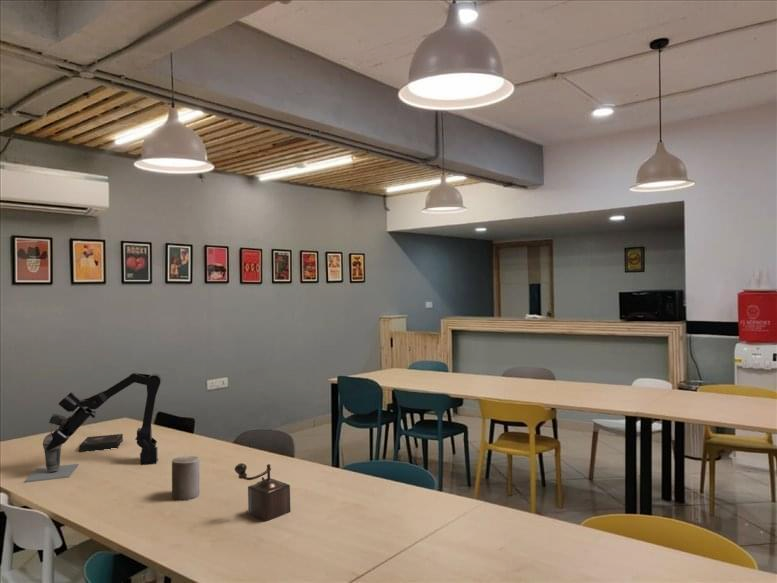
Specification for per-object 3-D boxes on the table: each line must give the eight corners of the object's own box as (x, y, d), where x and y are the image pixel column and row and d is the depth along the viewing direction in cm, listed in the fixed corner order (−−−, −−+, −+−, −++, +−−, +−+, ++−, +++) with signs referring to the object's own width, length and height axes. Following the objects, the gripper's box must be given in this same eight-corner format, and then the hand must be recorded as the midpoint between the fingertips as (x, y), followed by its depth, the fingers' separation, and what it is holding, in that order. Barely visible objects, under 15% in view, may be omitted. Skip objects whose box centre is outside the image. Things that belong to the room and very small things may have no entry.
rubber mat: (78, 465, 242) (78, 463, 242) (69, 477, 225) (69, 475, 225) (37, 469, 237) (37, 468, 237) (24, 482, 220) (24, 481, 220)
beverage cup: (49, 473, 226) (48, 425, 226) (39, 471, 230) (38, 424, 230) (66, 468, 232) (65, 421, 233) (57, 466, 236) (55, 420, 236)
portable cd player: (86, 444, 278) (86, 437, 278) (122, 441, 284) (122, 433, 284) (78, 453, 263) (78, 445, 263) (117, 449, 268) (117, 441, 268)
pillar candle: (170, 502, 194) (170, 460, 194) (173, 492, 204) (173, 453, 204) (199, 499, 197) (198, 458, 197) (200, 490, 206) (200, 450, 206)
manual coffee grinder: (271, 504, 190) (270, 453, 191) (291, 512, 183) (290, 458, 183) (233, 518, 179) (232, 464, 179) (252, 527, 171) (251, 470, 172)
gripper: (67, 403, 241) (39, 431, 238) (56, 411, 224) (26, 441, 220) (87, 419, 244) (60, 446, 240) (78, 428, 226) (49, 458, 223)
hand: (49, 447), depth 231 cm, fingers closed on beverage cup, 7 cm apart
